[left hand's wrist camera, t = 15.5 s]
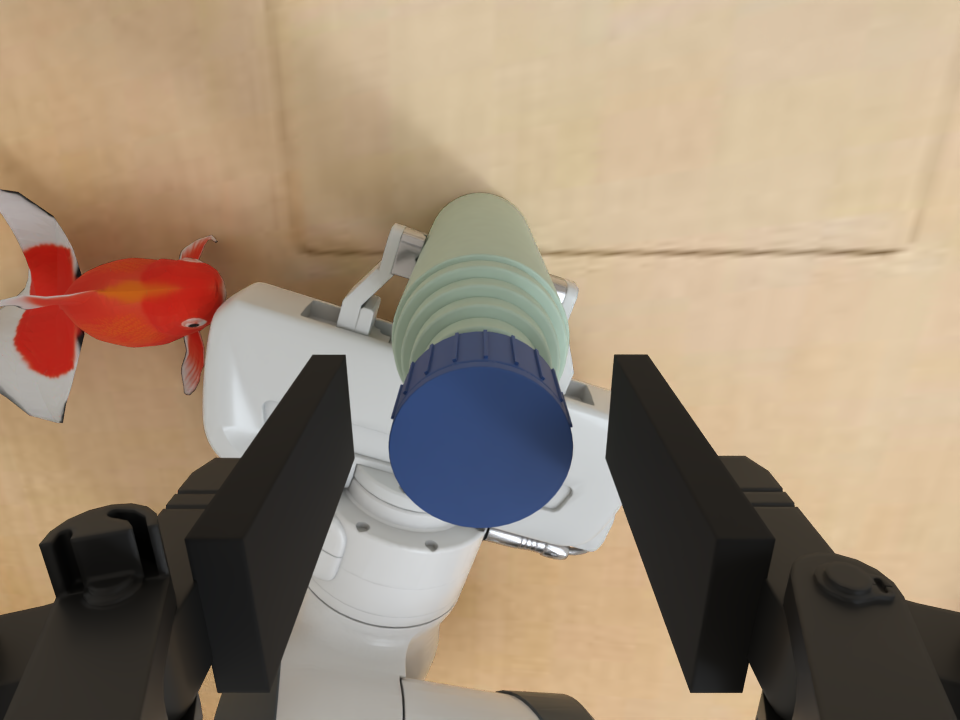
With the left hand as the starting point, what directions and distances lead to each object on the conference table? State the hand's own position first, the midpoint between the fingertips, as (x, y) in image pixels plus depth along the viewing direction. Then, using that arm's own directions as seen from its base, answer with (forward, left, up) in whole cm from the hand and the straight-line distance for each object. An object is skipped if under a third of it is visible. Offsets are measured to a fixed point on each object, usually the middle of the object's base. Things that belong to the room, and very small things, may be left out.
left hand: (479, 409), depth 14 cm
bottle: (0, 0, -19) cm, 19 cm away
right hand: (-1, 0, -13) cm, 13 cm away
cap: (0, 0, +2) cm, 2 cm away
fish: (+13, -14, -19) cm, 27 cm away
